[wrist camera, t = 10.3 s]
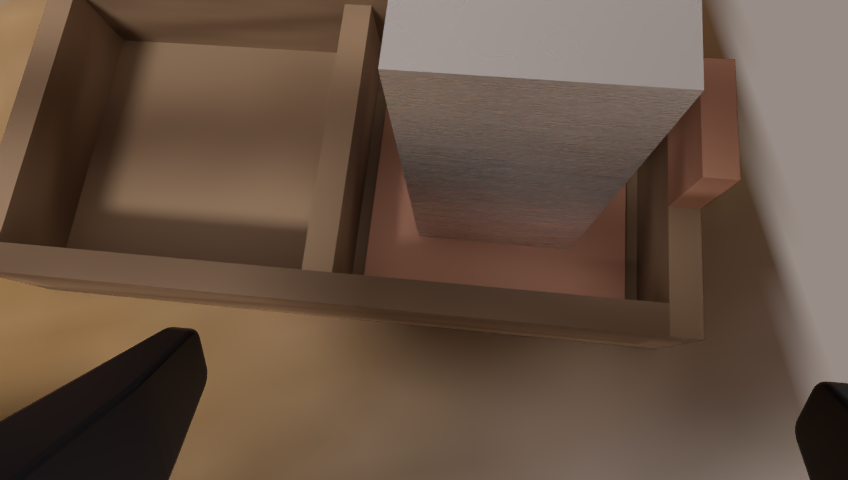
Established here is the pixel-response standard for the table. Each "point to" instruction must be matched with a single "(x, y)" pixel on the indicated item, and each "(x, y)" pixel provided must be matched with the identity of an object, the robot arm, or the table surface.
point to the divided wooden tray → (313, 182)
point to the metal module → (532, 107)
